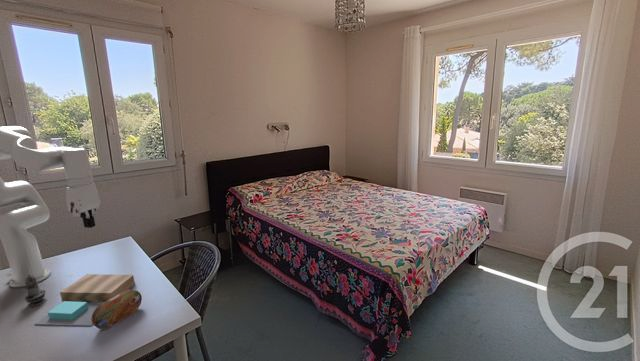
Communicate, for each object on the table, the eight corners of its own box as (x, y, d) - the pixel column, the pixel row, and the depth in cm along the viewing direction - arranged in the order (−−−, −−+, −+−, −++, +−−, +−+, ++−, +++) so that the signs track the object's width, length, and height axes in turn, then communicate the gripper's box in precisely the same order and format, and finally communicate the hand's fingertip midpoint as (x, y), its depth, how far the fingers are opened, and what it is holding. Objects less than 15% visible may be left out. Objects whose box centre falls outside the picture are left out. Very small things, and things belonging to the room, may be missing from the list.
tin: (98, 335, 91) (92, 312, 89) (92, 332, 93) (87, 309, 91) (144, 306, 105) (140, 286, 102) (138, 304, 106) (134, 283, 104)
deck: (62, 301, 108) (59, 292, 107) (89, 282, 120) (86, 274, 119) (112, 302, 107) (110, 293, 106) (134, 283, 119) (133, 274, 118)
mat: (34, 324, 97) (34, 323, 96) (64, 303, 107) (64, 302, 107) (91, 326, 95) (90, 325, 95) (115, 304, 106) (115, 303, 106)
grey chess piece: (47, 295, 112) (39, 268, 109) (48, 302, 108) (39, 274, 105) (26, 303, 108) (17, 274, 105) (26, 310, 104) (16, 281, 101)
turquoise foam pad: (64, 301, 104) (65, 306, 105) (47, 312, 98) (49, 318, 99) (87, 302, 103) (88, 307, 104) (71, 313, 97) (73, 319, 98)
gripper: (88, 176, 116) (96, 219, 120) (51, 186, 101) (63, 234, 106) (105, 176, 115) (113, 219, 120) (71, 186, 101) (82, 235, 105)
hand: (90, 226), depth 113 cm, fingers closed
